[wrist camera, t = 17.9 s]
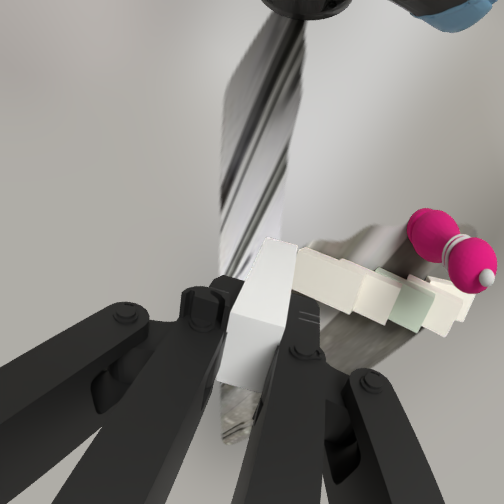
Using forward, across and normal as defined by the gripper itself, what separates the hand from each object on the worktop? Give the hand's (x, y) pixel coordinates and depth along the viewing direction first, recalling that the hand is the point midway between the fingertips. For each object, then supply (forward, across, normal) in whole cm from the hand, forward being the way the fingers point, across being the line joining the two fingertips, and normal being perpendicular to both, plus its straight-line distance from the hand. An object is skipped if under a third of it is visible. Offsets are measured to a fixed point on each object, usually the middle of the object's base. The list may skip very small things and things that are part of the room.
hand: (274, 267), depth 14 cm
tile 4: (+29, +20, -12) cm, 37 cm away
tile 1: (+29, +3, -12) cm, 31 cm away
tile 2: (+29, +9, -12) cm, 32 cm away
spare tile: (+29, +14, -12) cm, 34 cm away
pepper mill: (+31, +20, -1) cm, 37 cm away
